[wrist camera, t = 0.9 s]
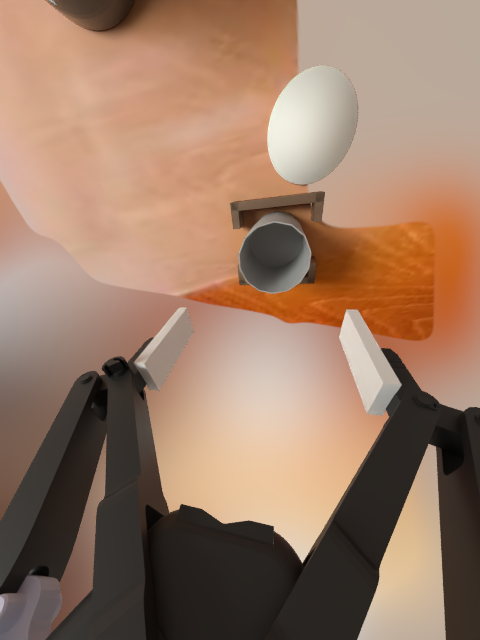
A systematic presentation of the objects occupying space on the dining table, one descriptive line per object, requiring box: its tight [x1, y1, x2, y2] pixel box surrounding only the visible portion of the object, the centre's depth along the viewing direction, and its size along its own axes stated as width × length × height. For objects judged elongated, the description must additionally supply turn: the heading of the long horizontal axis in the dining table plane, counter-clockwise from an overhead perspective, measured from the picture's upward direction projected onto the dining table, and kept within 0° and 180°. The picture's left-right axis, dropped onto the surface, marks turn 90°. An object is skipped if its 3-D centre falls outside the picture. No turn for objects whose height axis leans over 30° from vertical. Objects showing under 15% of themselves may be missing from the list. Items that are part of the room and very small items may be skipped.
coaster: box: [267, 65, 358, 185], centre depth 23 cm, size 10×10×1 cm
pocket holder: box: [230, 192, 325, 285], centre depth 29 cm, size 12×12×3 cm
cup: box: [238, 211, 311, 294], centre depth 26 cm, size 8×8×10 cm
